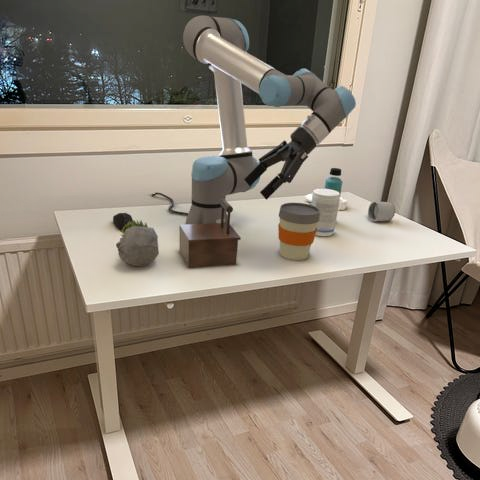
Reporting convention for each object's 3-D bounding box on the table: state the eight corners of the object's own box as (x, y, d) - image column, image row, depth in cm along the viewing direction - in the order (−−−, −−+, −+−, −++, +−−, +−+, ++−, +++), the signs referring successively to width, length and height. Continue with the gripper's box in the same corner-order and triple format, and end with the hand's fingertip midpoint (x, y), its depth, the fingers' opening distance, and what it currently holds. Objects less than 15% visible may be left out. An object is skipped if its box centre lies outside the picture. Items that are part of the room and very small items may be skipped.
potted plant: (114, 263, 129) (97, 231, 137) (145, 280, 140) (128, 249, 148) (144, 231, 127) (125, 201, 135) (174, 251, 137) (154, 222, 145)
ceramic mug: (394, 223, 187) (398, 203, 183) (376, 224, 184) (380, 204, 181) (379, 214, 195) (383, 196, 192) (361, 215, 193) (365, 196, 189)
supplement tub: (339, 235, 171) (346, 194, 163) (319, 238, 166) (326, 197, 159) (321, 226, 178) (327, 187, 170) (301, 229, 173) (307, 189, 165)
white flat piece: (300, 199, 206) (326, 196, 213) (325, 212, 193) (353, 208, 200) (301, 191, 205) (327, 189, 211) (327, 203, 192) (354, 200, 198)
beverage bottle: (317, 223, 181) (326, 169, 170) (319, 217, 186) (327, 165, 176) (335, 225, 180) (344, 171, 169) (336, 220, 185) (345, 167, 175)
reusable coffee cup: (282, 263, 145) (288, 215, 138) (268, 247, 156) (273, 202, 148) (319, 261, 149) (327, 214, 141) (304, 246, 159) (310, 202, 151)
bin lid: (228, 225, 148) (229, 195, 144) (240, 239, 138) (243, 209, 134) (179, 227, 144) (179, 197, 139) (188, 242, 134) (189, 210, 129)
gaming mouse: (119, 235, 156) (118, 223, 154) (111, 220, 168) (111, 209, 166) (138, 233, 158) (138, 222, 156) (129, 219, 170) (129, 208, 168)
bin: (224, 248, 152) (225, 225, 148) (236, 264, 142) (238, 240, 138) (179, 251, 148) (179, 227, 144) (188, 268, 138) (188, 242, 134)
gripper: (283, 118, 143) (233, 169, 146) (321, 133, 123) (262, 192, 126) (297, 136, 148) (248, 186, 151) (336, 154, 128) (278, 211, 131)
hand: (254, 189), depth 138 cm, fingers open, 13 cm apart
